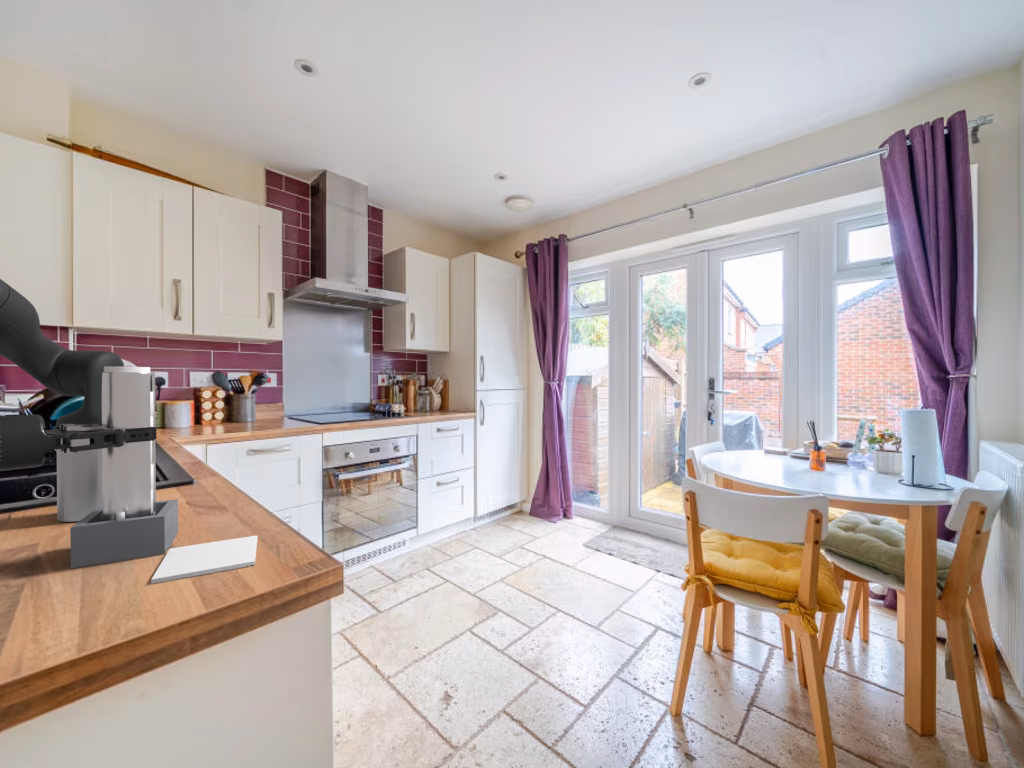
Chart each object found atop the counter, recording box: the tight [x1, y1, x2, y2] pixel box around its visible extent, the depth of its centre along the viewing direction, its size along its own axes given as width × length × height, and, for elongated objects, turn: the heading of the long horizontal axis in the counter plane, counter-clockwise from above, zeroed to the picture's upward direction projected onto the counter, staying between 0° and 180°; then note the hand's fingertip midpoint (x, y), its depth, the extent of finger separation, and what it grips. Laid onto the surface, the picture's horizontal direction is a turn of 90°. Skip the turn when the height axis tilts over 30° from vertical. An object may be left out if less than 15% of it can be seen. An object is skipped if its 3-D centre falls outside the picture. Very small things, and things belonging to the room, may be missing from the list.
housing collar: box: [70, 498, 179, 569], centre depth 70 cm, size 11×11×7 cm
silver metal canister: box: [102, 365, 157, 522], centre depth 70 cm, size 6×6×25 cm
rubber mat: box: [150, 535, 259, 585], centre depth 66 cm, size 12×12×1 cm
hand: (149, 431), depth 72 cm, fingers closed on silver metal canister, 5 cm apart
